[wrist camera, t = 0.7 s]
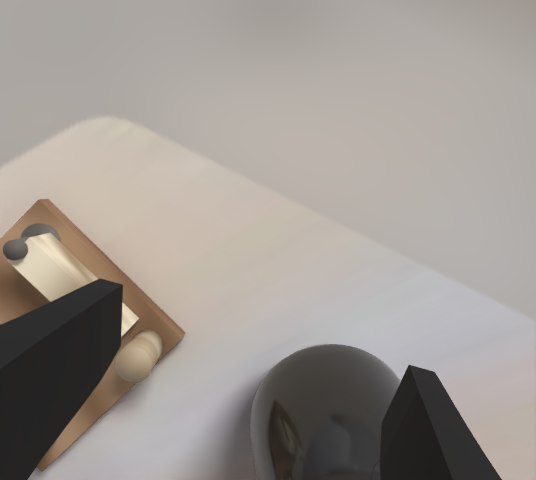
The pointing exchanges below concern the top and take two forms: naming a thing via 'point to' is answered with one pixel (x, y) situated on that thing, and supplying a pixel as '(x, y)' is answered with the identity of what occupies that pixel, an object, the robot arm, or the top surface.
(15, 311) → the stool seat
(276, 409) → the dark grey tapered dome
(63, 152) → the top surface
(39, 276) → the hinged leg
